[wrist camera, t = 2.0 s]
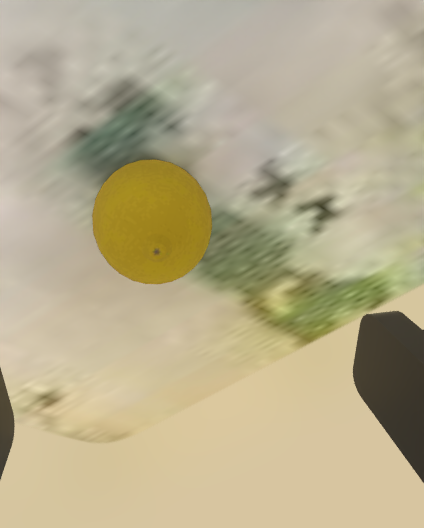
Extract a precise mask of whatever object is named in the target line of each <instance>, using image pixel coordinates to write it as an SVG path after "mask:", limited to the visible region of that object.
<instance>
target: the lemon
mask: <svg viewBox="0 0 424 528" xmlns="http://www.w3.org/2000/svg"><path fill="white" fill-rule="evenodd" d="M92 218H93V232H94V236H95V239H96V242H97V244H98V247H99V250H100V252H101V253H102V254H103V256H104V257H105V259H106V260H107V262H108V263H109V264H110V265H111V266H112V267H113V268H114V269H115V270H116V271H118V272H119V273H120V274H122V275H124V276H126V277H127V278H129V279H131V280H133V281H137V282H141V283H145V284H162V283H167V282H172V281H174V280H176V279H178V278H180V277H183V276H184V275H185V274H187V273H188V272H189V271H191V270H192V269H193V268H194V267H195V266H196V265H197V264H198V262H199V261H200V260H201V259H202V257H203V255H204V253H205V251H206V249H207V247H208V244H209V241H210V235H211V230H212V218H211V209H210V206H209V203H208V200H207V197H206V194H205V192H204V191H203V190H202V188H201V187H200V185H199V184H198V182H197V181H196V180H195V179H194V178H193V177H192V176H191V175H190V174H189V173H188V172H186V171H185V170H184V169H182V168H180V167H178V166H176V165H174V164H172V163H170V162H165V161H161V160H156V159H155V160H139V161H136V162H133V163H129V164H126V165H125V166H123V167H122V168H120V169H118V170H117V171H115V172H114V173H113V174H112V175H111V176H110V177H109V178H108V179H107V180H106V182H105V183H104V184H103V185H102V187H101V189H100V191H99V193H98V195H97V197H96V199H95V204H94V209H93V215H92Z"/></svg>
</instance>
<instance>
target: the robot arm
mask: <svg viewBox="0 0 424 528" xmlns="http://www.w3.org/2000/svg"><path fill="white" fill-rule="evenodd" d="M353 377H354V382H355V386H356V388H357V391H358V393H359V394H360V396H361V397H362V399H363V400H364V402H365V403H366V404H367V406H368V407H369V408H370V410H371V411H372V413H373V414H374V415H375V417H376V418H377V419H378V421H379V422H380V424H381V425H382V426H383V427H384V429H385V430H386V432H387V433H388V434H389V436H390V437H391V439H392V440H393V441H394V443H395V444H396V445H397V447H398V448H399V450H400V451H401V452H402V454H403V455H404V456H405V458H406V459H407V461H408V462H409V463H410V465H411V466H412V467H413V469H414V470H415V472H416V473H417V474H418V476H419V477H420V478H421V480H422V481H423V482H424V330H422V329H420V328H419V327H418V326H417V325H416V324H415V323H413V322H412V321H411V320H410V319H409V318H407V317H406V316H405V315H404V314H403V313H401V312H399V311H392V312H383V313H374V314H366V315H365V316H363V318H362V320H361V323H360V329H359V334H358V341H357V347H356V353H355V359H354V366H353ZM13 437H14V415H13V411H12V407H11V403H10V400H9V396H8V393H7V389H6V386H5V382H4V379H3V375H2V372H1V368H0V479H1V476H2V473H3V470H4V467H5V464H6V461H7V458H8V455H9V452H10V449H11V446H12V441H13Z"/></svg>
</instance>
